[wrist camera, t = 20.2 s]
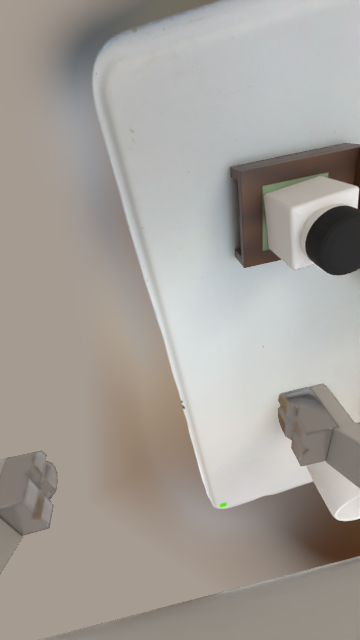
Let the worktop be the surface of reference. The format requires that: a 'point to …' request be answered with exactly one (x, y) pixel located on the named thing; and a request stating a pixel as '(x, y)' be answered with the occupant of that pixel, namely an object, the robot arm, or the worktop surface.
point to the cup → (336, 491)
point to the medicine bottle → (315, 225)
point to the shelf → (277, 173)
